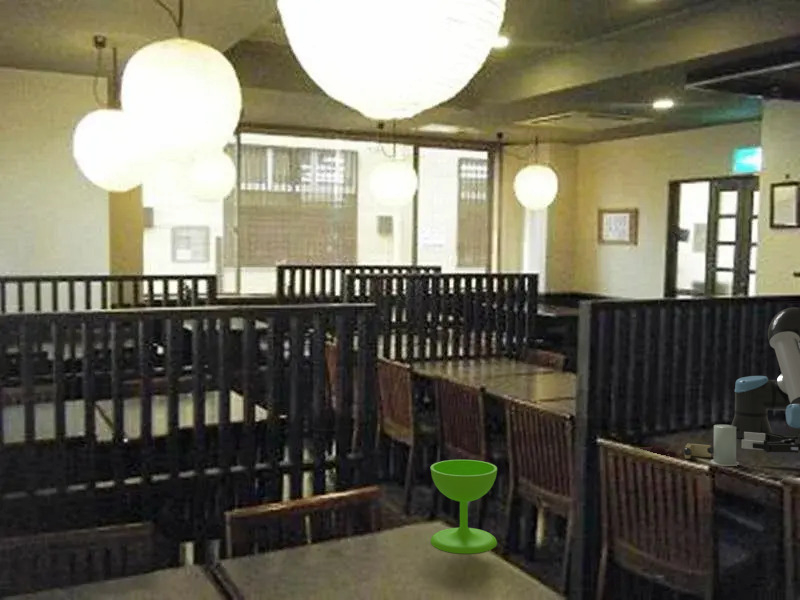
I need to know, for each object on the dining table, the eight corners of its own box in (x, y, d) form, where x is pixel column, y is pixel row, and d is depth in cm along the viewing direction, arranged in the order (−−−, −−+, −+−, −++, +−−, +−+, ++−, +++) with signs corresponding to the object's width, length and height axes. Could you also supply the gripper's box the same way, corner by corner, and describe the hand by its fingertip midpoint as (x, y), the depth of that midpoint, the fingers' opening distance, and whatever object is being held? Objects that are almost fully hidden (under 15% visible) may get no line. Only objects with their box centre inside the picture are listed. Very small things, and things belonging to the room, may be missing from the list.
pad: (711, 459, 269) (711, 457, 269) (739, 462, 265) (739, 460, 265) (708, 465, 261) (708, 463, 261) (738, 468, 257) (738, 466, 257)
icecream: (629, 443, 266) (669, 455, 254) (641, 435, 270) (681, 446, 259) (630, 462, 267) (670, 474, 256) (643, 453, 272) (682, 465, 261)
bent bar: (685, 453, 278) (685, 442, 278) (714, 456, 273) (715, 445, 273) (682, 459, 270) (683, 447, 270) (712, 462, 266) (712, 450, 266)
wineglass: (476, 527, 199) (476, 457, 198) (509, 547, 184) (509, 471, 184) (419, 536, 193) (419, 463, 192) (449, 557, 178) (449, 479, 177)
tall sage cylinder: (714, 458, 268) (714, 423, 268) (736, 460, 265) (736, 425, 265) (712, 463, 262) (712, 427, 262) (735, 465, 259) (735, 429, 258)
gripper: (815, 466, 240) (740, 459, 249) (814, 449, 262) (745, 443, 272) (816, 442, 240) (740, 435, 249) (814, 427, 262) (745, 422, 271)
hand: (742, 439), depth 260 cm, fingers open, 13 cm apart
